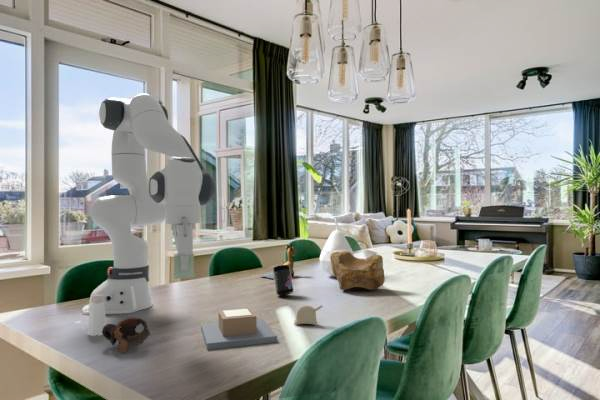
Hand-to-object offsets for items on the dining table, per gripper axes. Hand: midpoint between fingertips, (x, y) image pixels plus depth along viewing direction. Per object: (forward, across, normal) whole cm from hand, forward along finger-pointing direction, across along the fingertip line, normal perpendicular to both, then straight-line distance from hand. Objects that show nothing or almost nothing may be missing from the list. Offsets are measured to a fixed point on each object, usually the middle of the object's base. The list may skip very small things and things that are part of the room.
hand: (183, 268), depth 116 cm
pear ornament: (+19, +74, -76) cm, 108 cm away
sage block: (+2, 0, 0) cm, 2 cm away
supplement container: (+19, +42, -39) cm, 61 cm away
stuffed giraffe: (+20, +81, -50) cm, 97 cm away
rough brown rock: (+19, +43, -69) cm, 84 cm away
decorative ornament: (+19, +3, -32) cm, 37 cm away
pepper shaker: (+19, +13, +23) cm, 33 cm away
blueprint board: (+19, -1, -14) cm, 24 cm away
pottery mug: (+20, 0, +15) cm, 25 cm away
